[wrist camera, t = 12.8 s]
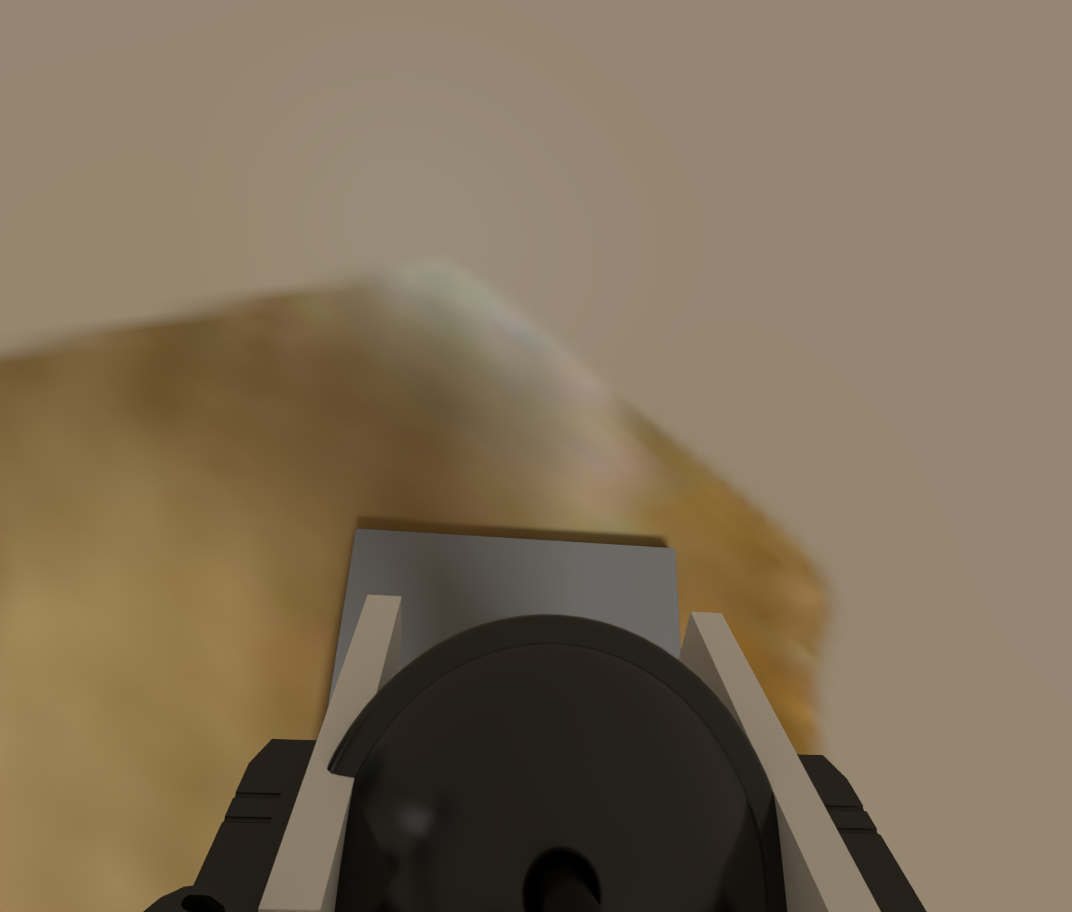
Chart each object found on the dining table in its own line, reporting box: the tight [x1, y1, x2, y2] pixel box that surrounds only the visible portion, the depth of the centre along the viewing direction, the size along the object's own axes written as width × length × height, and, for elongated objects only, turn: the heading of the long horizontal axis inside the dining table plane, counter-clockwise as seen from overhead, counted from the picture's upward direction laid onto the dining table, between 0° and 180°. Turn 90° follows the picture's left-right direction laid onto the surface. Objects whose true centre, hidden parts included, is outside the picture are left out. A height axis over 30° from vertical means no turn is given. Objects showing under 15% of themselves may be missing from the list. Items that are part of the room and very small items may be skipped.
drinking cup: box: [327, 614, 787, 912], centre depth 12 cm, size 8×8×20 cm
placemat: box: [328, 528, 681, 707], centre depth 23 cm, size 14×18×1 cm
